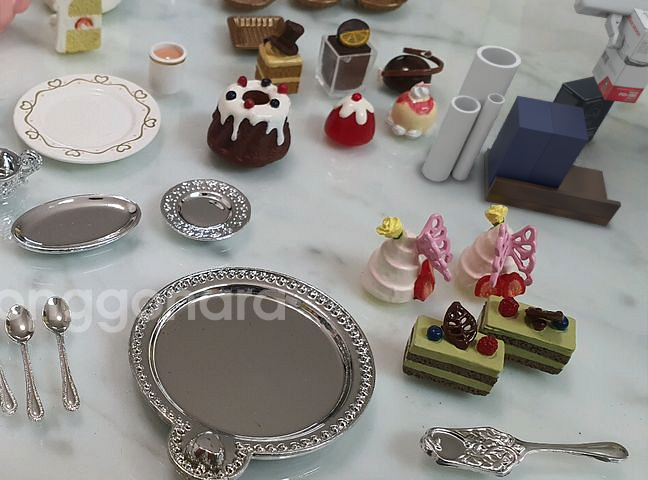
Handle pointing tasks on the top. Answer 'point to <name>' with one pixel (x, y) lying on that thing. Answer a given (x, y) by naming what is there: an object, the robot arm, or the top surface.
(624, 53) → the ink box
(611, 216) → the shelf
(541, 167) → the matching cartons
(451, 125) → the vase
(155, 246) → the top surface
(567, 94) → the box
